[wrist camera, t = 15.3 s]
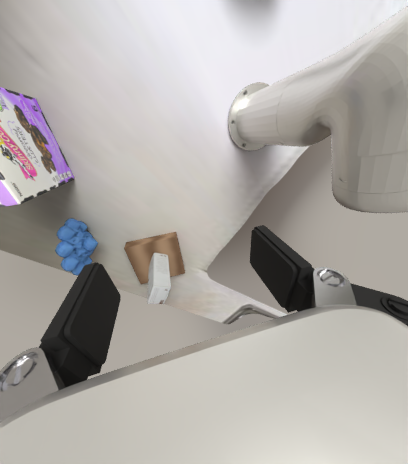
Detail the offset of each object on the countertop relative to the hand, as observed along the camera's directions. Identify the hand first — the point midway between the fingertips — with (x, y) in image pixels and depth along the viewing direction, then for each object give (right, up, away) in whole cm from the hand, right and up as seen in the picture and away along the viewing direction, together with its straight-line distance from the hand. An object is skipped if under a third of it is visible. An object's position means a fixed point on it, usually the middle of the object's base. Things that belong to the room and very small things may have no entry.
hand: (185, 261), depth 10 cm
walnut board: (-13, -5, +39) cm, 42 cm away
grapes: (-28, +2, +31) cm, 42 cm away
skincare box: (-12, -7, +37) cm, 40 cm away
